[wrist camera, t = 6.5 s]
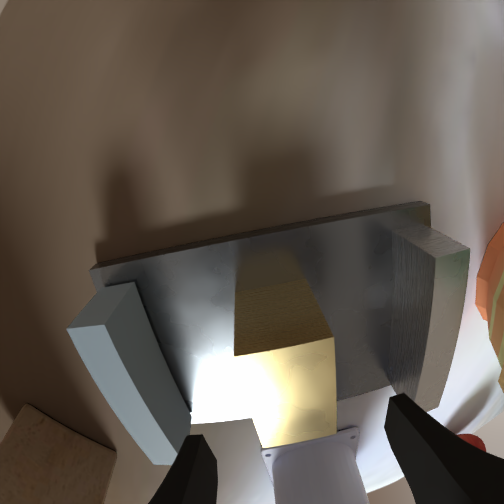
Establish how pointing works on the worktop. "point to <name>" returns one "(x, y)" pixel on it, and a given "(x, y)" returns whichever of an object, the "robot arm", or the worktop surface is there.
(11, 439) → the wooden block
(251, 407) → the brass block
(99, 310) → the block
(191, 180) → the worktop surface
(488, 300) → the potted cactus
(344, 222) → the vise
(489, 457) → the robot arm
